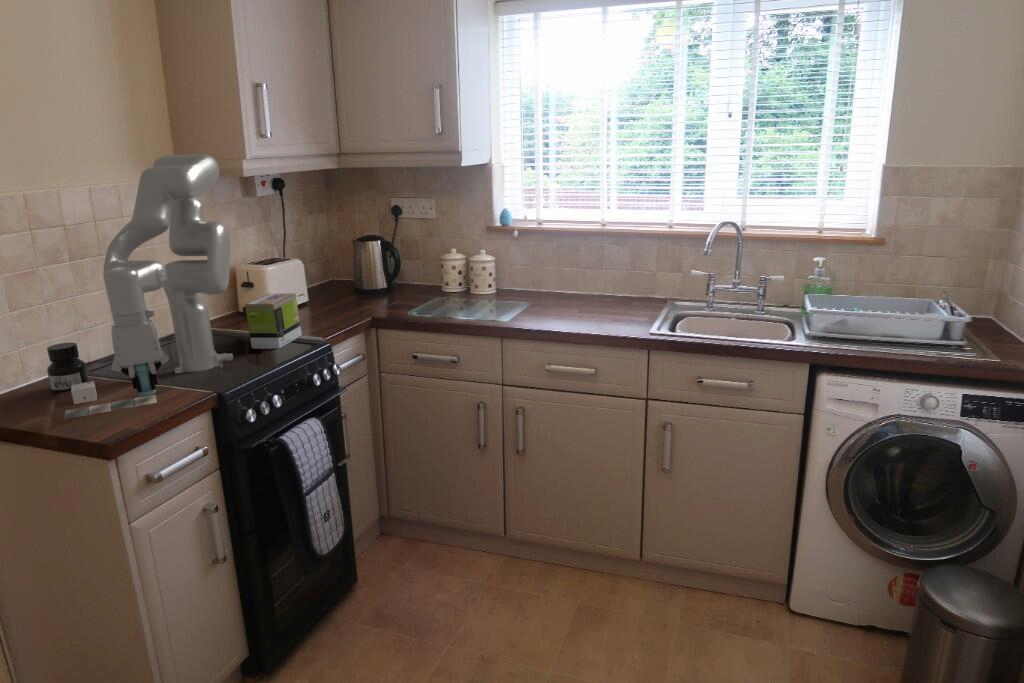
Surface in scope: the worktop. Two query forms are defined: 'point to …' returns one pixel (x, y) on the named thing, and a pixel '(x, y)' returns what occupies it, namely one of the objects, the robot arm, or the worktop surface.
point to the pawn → (144, 380)
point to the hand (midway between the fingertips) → (146, 388)
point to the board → (107, 407)
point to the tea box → (273, 320)
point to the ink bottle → (65, 367)
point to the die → (84, 392)
